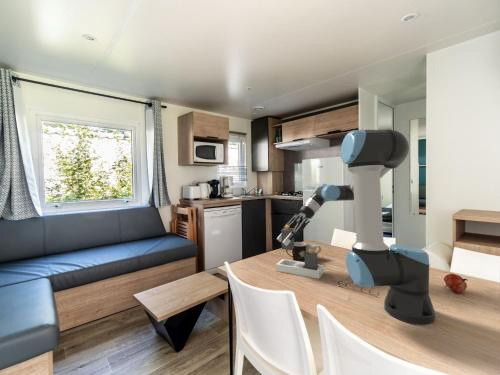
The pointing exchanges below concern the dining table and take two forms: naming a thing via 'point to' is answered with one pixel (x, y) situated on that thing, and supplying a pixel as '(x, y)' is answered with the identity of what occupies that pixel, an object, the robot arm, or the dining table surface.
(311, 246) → the teacup
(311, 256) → the twin plug
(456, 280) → the red fruit with stem
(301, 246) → the coffee mug
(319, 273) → the strip
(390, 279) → the robot arm
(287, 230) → the plug
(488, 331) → the dining table surface
